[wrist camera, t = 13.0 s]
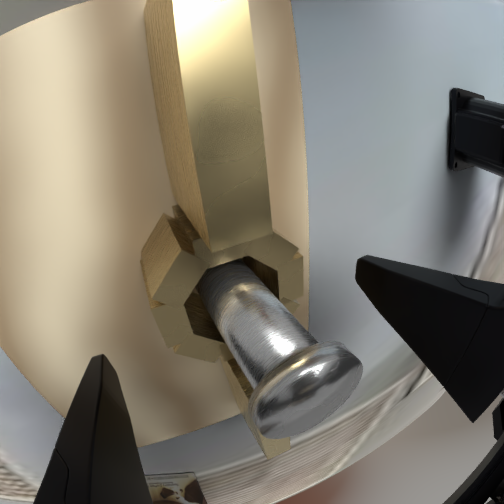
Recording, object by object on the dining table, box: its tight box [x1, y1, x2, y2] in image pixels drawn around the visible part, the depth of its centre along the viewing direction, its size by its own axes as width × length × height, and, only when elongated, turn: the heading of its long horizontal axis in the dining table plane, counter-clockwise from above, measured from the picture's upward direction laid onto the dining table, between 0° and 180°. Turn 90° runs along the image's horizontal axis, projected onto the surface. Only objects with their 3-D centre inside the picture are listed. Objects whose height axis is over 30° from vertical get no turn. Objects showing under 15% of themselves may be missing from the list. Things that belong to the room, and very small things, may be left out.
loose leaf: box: [220, 356, 291, 460], centre depth 14 cm, size 2×8×4 cm, turn 8°
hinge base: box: [140, 0, 304, 363], centre depth 8 cm, size 5×13×5 cm, turn 7°
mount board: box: [0, 0, 309, 448], centre depth 12 cm, size 16×24×1 cm, turn 7°
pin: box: [195, 258, 363, 439], centre depth 9 cm, size 3×3×8 cm
